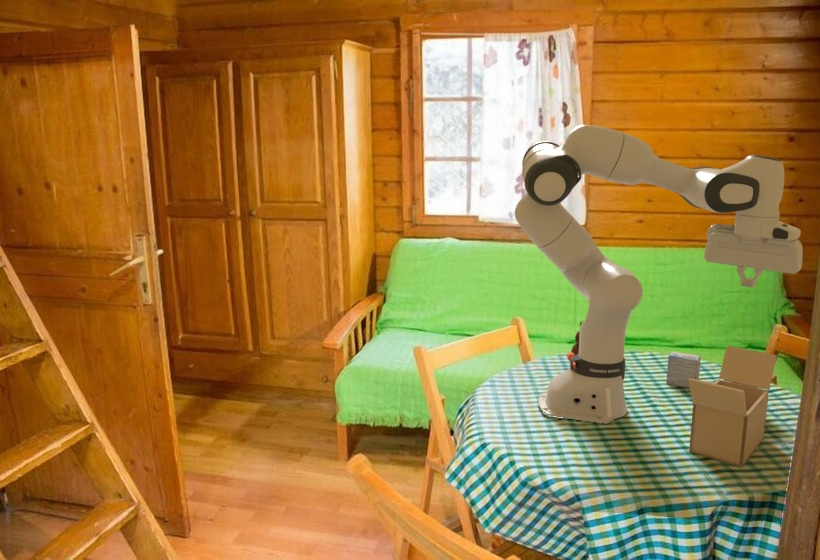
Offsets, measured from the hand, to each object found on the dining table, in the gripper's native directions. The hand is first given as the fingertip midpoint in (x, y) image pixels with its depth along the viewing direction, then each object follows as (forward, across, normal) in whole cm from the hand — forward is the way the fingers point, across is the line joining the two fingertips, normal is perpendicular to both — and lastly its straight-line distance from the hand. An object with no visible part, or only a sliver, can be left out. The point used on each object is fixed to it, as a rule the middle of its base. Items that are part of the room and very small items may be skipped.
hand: (747, 286), depth 152 cm
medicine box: (+35, -17, +17) cm, 42 cm away
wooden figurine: (+36, -46, +12) cm, 59 cm away
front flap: (+19, +3, -24) cm, 31 cm away
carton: (+35, +3, -13) cm, 37 cm away
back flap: (+19, +3, -2) cm, 19 cm away
